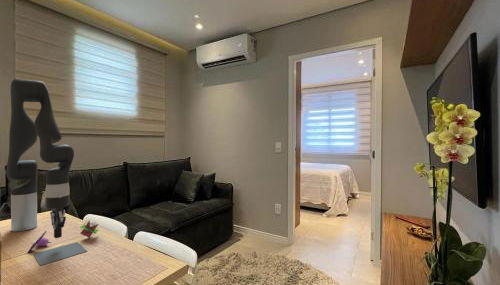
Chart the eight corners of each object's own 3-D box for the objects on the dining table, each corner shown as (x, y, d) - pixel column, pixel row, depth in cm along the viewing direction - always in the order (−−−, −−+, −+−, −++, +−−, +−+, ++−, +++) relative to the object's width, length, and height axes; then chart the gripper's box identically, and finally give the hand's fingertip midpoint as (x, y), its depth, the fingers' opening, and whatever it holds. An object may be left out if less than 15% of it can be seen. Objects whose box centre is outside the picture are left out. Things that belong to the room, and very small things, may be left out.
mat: (33, 254, 90) (33, 253, 90) (77, 242, 101) (77, 241, 101) (40, 265, 82) (40, 265, 82) (87, 251, 93) (87, 250, 93)
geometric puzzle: (77, 241, 101) (77, 223, 101) (82, 235, 108) (82, 218, 108) (96, 239, 104) (96, 221, 104) (100, 233, 110) (100, 216, 110)
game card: (25, 251, 91) (30, 244, 98) (38, 257, 93) (43, 250, 100) (40, 235, 93) (44, 229, 101) (53, 241, 95) (56, 235, 103)
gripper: (41, 193, 96) (42, 235, 96) (49, 199, 88) (49, 245, 88) (64, 190, 102) (64, 230, 102) (74, 195, 94) (74, 238, 94)
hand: (57, 237), depth 95 cm, fingers closed
